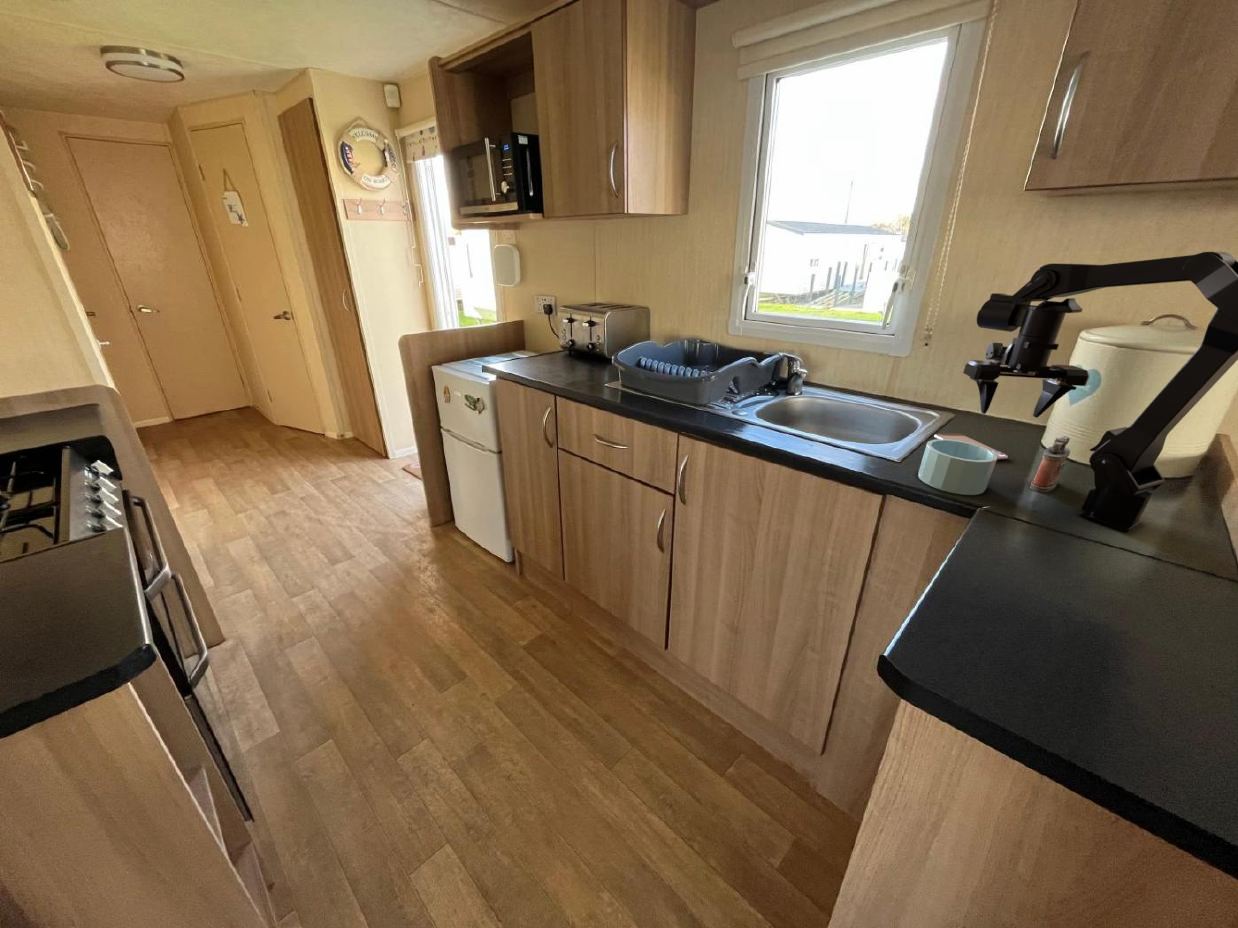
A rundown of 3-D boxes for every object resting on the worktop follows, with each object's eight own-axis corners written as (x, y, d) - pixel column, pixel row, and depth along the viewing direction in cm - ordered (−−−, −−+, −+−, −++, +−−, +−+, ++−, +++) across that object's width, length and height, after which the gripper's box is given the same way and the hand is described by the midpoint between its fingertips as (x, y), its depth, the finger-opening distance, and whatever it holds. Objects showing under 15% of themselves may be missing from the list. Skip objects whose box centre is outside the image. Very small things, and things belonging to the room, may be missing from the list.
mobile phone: (959, 432, 122) (1011, 455, 108) (958, 435, 122) (1009, 459, 109) (932, 433, 121) (980, 456, 107) (931, 436, 121) (979, 460, 108)
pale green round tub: (996, 486, 96) (1009, 454, 93) (966, 500, 91) (978, 466, 88) (937, 465, 105) (946, 435, 102) (906, 476, 100) (915, 445, 97)
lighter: (1046, 493, 94) (1067, 446, 90) (1025, 487, 96) (1044, 440, 92) (1060, 483, 98) (1080, 437, 94) (1039, 477, 101) (1058, 432, 97)
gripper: (1068, 331, 96) (1039, 407, 103) (964, 327, 100) (942, 400, 106) (1106, 341, 86) (1072, 423, 93) (989, 335, 90) (963, 415, 96)
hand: (1008, 415), depth 97 cm, fingers open, 9 cm apart
